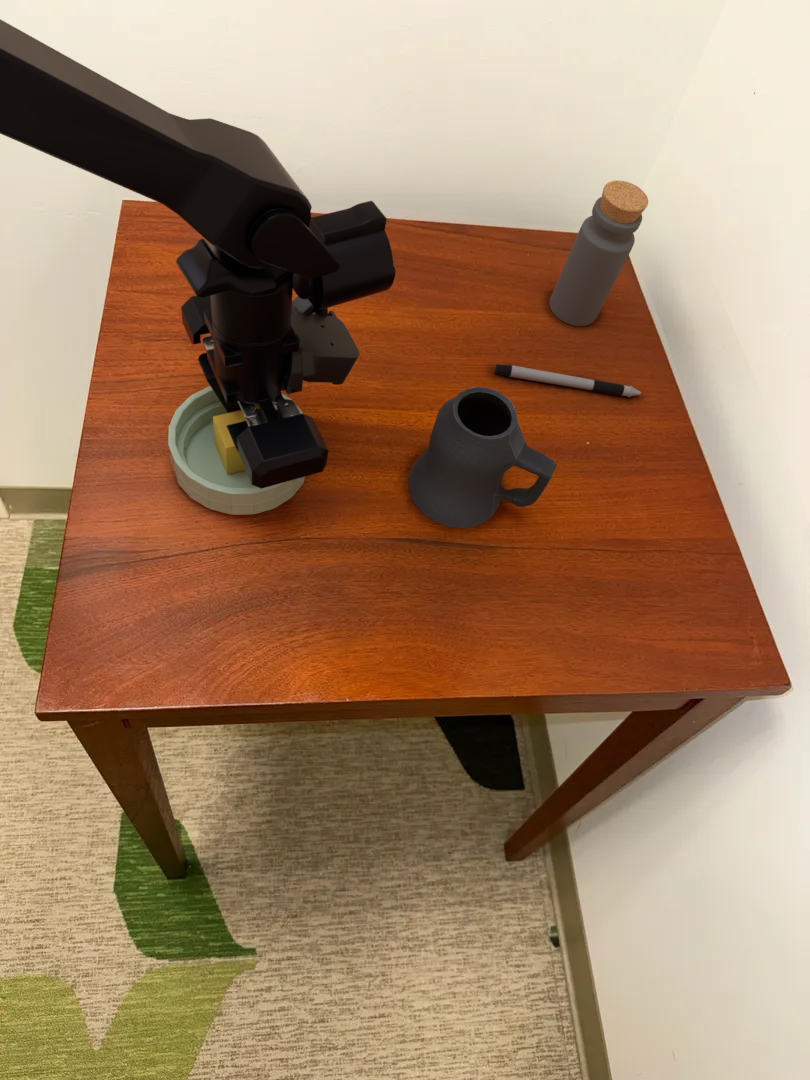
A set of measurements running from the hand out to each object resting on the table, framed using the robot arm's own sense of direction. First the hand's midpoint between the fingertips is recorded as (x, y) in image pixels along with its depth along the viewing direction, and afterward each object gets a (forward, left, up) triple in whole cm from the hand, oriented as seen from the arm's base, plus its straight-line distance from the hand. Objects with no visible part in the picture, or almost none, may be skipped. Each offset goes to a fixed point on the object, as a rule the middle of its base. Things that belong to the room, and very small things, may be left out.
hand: (252, 444), depth 69 cm
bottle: (+42, +9, -2) cm, 43 cm away
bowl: (-1, 0, -2) cm, 2 cm away
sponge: (0, 0, -1) cm, 1 cm away
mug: (+18, -10, -2) cm, 21 cm away
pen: (+35, -1, -2) cm, 35 cm away
